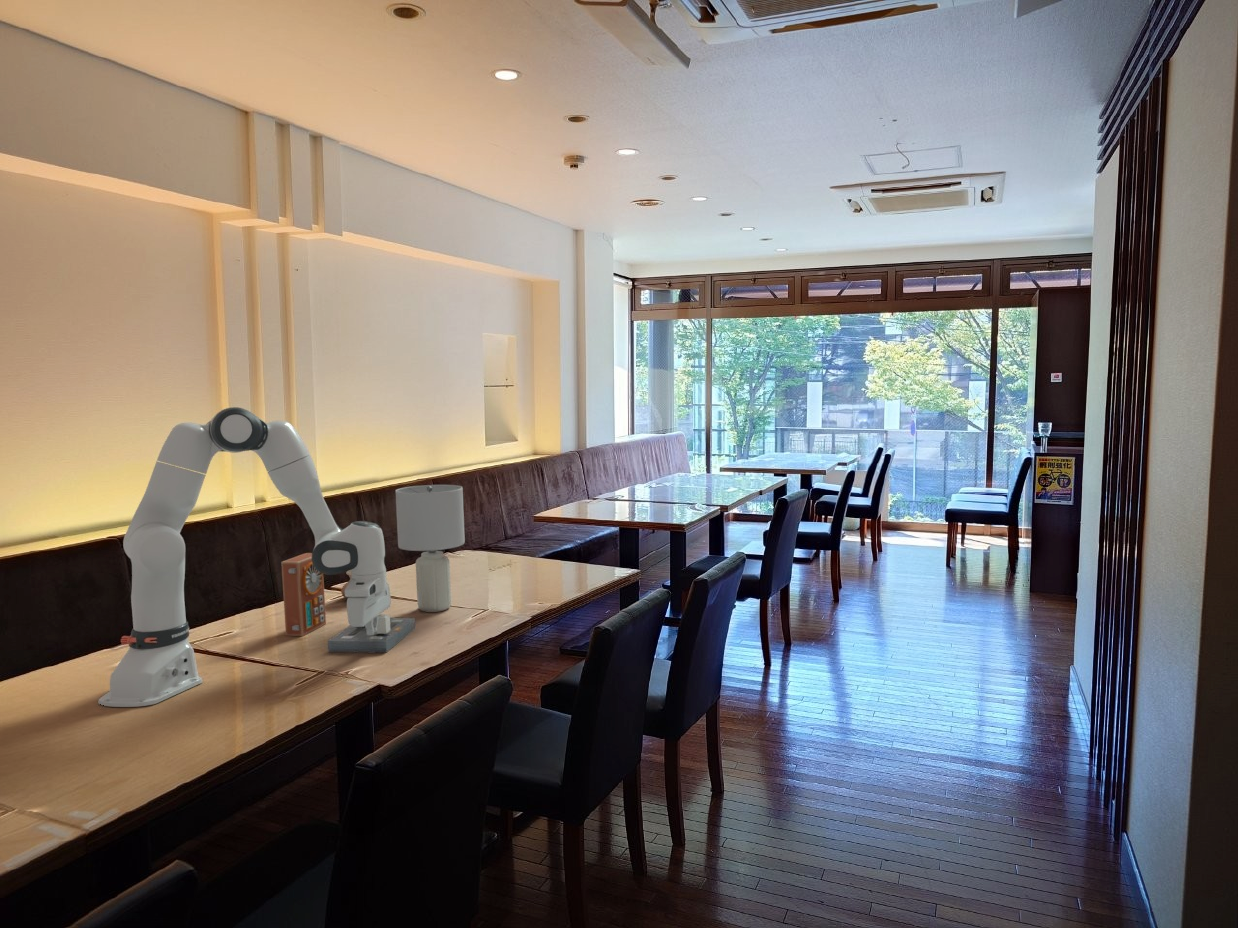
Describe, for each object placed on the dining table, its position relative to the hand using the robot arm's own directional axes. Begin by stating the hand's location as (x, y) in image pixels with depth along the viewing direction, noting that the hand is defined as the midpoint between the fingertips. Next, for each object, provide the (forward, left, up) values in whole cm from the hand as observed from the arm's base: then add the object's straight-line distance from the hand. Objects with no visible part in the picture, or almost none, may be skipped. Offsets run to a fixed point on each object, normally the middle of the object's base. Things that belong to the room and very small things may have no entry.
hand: (372, 633), depth 220 cm
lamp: (+42, -3, -5) cm, 43 cm away
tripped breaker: (+6, 0, -1) cm, 6 cm away
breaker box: (+10, +4, -5) cm, 12 cm away
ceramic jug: (+55, +25, -5) cm, 61 cm away
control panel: (+19, +28, -5) cm, 34 cm away
